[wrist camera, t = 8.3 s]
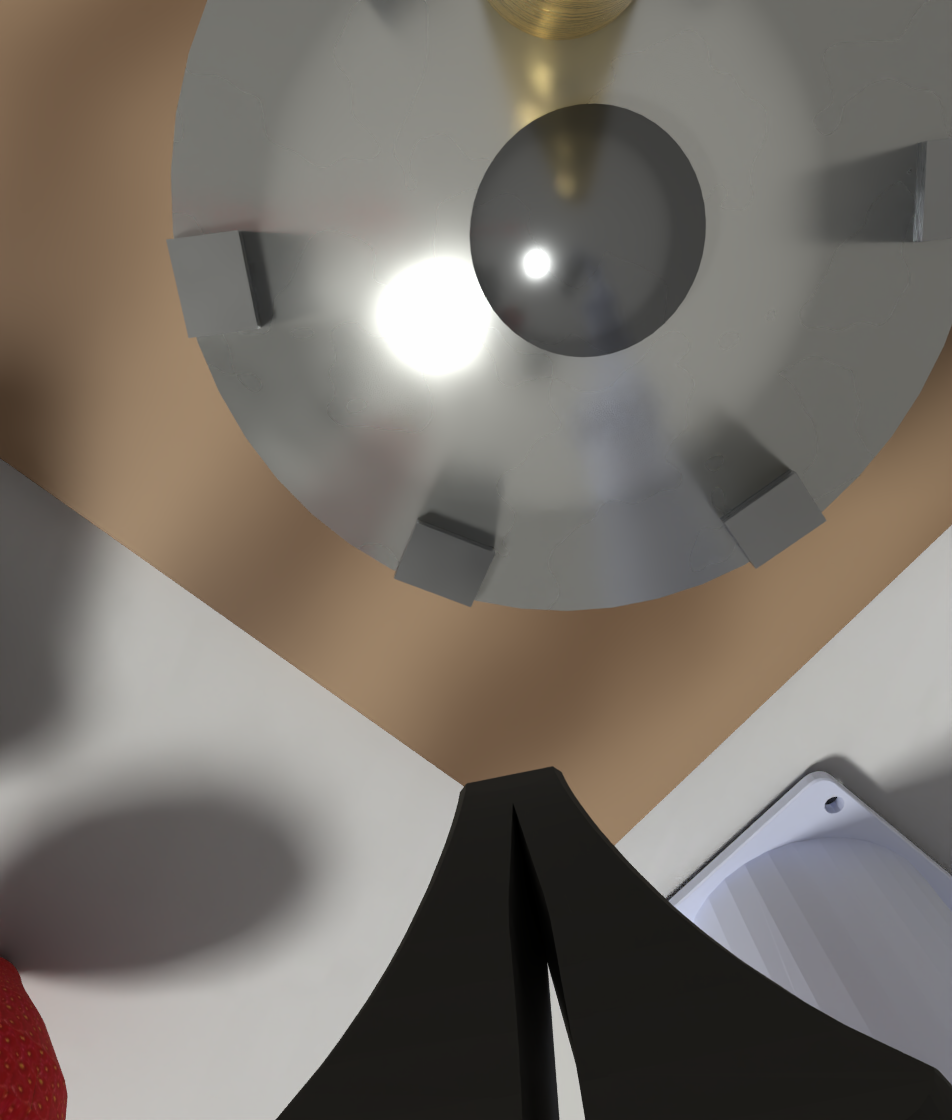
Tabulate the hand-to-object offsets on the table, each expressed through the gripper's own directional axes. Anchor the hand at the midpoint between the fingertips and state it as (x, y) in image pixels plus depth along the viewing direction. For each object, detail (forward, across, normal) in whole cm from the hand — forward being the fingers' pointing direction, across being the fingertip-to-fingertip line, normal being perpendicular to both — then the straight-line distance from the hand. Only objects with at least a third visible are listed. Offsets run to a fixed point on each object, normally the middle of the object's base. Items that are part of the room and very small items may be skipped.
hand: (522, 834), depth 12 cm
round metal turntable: (+8, -3, -8) cm, 12 cm away
